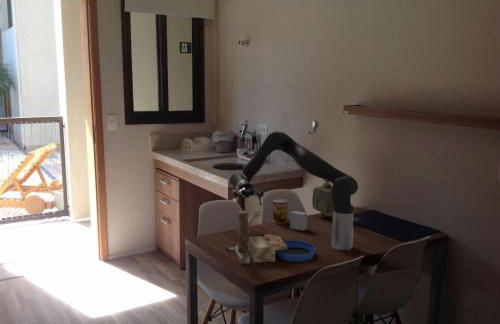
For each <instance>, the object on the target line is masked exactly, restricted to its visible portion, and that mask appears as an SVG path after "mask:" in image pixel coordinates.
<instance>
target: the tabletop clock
mask: <svg viewBox="0 0 500 324" xmlns="http://www.w3.org/2000/svg"><path fill="white" fill-rule="evenodd" d="M322 180H323V181H324V182H323V183H322V185H319V186H315V187H314V188H313V190H312V198H311V199H312V200H311V201H312V203H311V204H312V208H313V209H314V210H315V211H317V212H320V215H321V216H320V218H321V219H324V214H330V215H332V216H333V206H332V183H331V182H329V181H327V180H325V179H322Z"/></svg>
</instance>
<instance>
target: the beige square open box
mask: <svg viewBox="0 0 500 324" xmlns="http://www.w3.org/2000/svg"><path fill="white" fill-rule="evenodd" d="M274 236H275V237H278V239H279V240H280V242H279V243H280V246H270V245H269V239H268V240H266V239H265V237H264V235H263V236H262V235H261V236H260V235H259V236H248V244H247V252H248V254H249V256H250V258H251V259H252V260H253V262H254V263H268V262H270V263H271V262H276V254H275V253H276V250H280V251H282V250H286V249H287V245H286V244H285V243H284V241H285V240H283V238H281V236H280V235H274Z"/></svg>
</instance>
